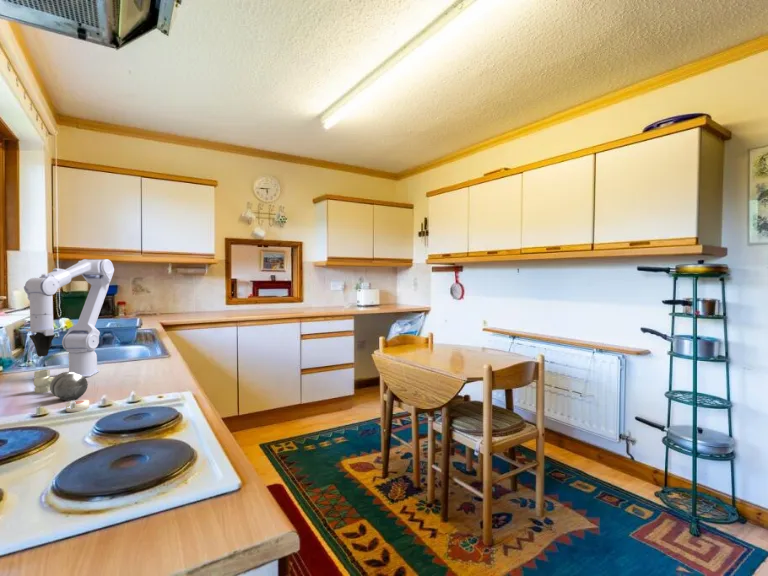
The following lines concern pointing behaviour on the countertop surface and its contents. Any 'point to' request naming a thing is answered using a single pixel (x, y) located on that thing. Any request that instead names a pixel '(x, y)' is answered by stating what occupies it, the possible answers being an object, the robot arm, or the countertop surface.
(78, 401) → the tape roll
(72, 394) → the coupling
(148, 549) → the countertop surface
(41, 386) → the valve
